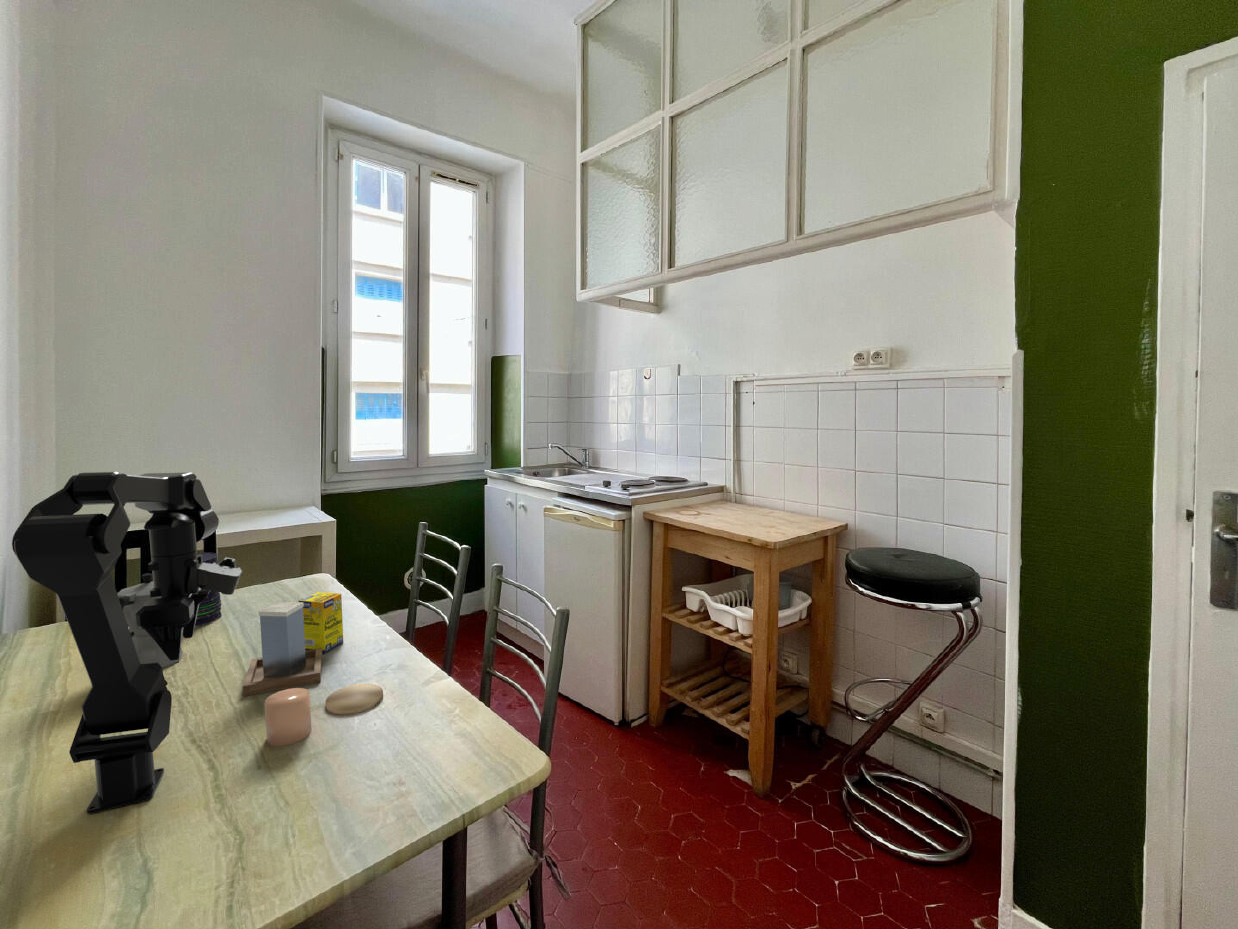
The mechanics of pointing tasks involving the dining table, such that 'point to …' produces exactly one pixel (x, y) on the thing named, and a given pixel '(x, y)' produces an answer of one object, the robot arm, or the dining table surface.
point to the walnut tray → (305, 676)
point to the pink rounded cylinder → (288, 716)
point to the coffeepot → (142, 640)
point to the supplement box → (322, 621)
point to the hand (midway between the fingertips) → (182, 648)
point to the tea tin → (282, 639)
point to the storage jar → (209, 599)
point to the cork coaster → (354, 699)
